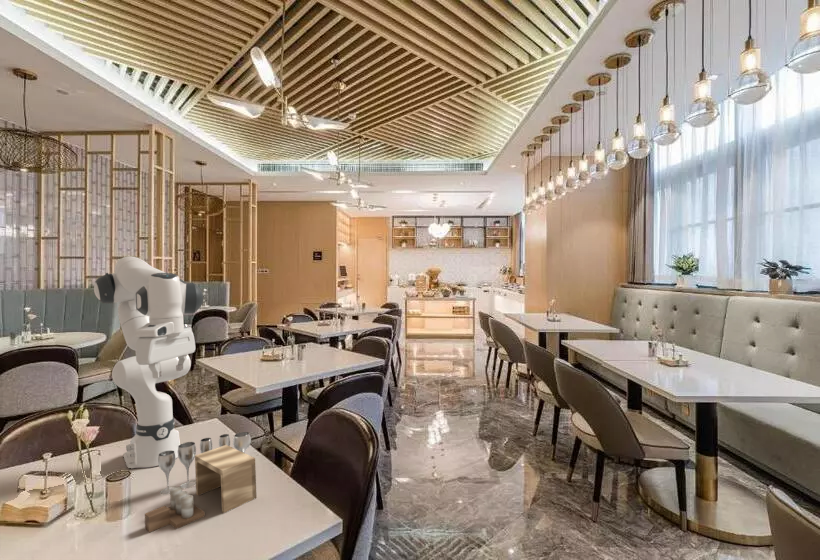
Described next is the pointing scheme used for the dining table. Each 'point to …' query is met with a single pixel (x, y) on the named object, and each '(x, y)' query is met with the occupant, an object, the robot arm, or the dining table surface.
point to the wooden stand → (226, 475)
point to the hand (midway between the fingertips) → (169, 374)
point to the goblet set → (189, 451)
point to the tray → (174, 512)
